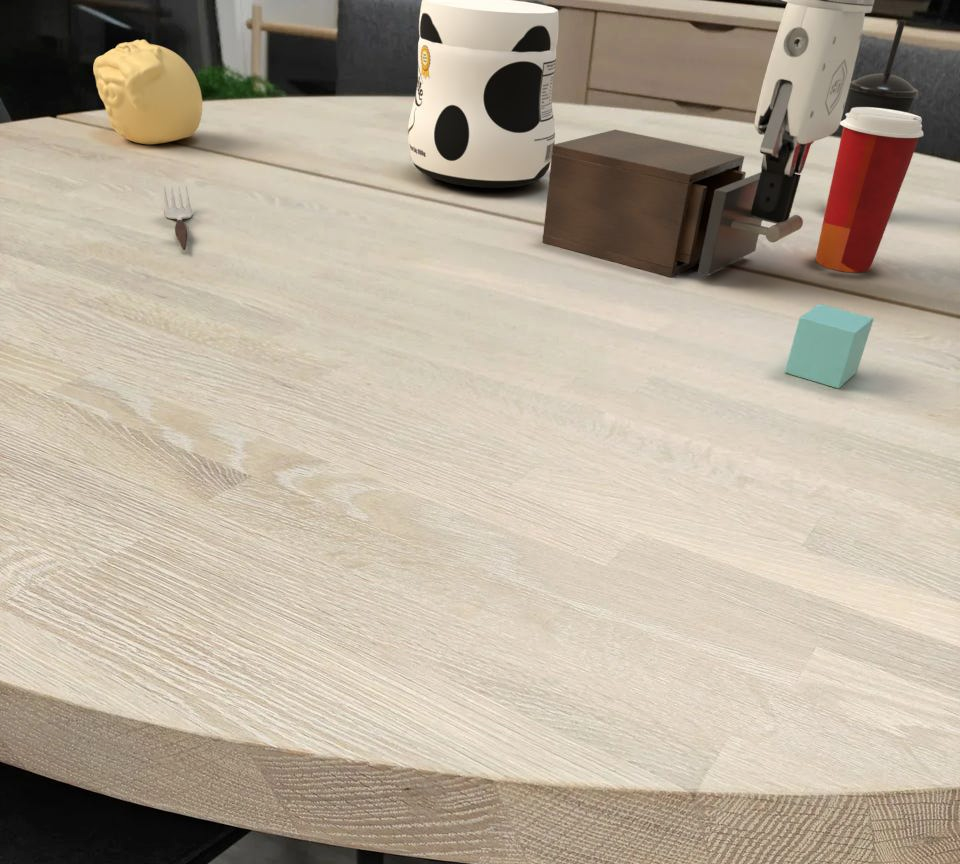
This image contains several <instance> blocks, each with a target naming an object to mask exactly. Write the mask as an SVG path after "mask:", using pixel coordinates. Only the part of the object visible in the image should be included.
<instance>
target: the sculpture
mask: <svg viewBox="0 0 960 864" xmlns="http://www.w3.org/2000/svg"><path fill="white" fill-rule="evenodd" d="M92 67H93V69H92V70H93V76H94V78H95V84H96V86H95V87H96V89H97V91H98V96H99V98H100V99H101V101H102V102H103V105H104V108H105V112H106V115H108V121H109V124H110V126H111V128H112V129H114V130H115V131H116V132H117V133H118V134H119V135H121V136H122V137H123V138H125V139H126V140H128V141H131V142H134V143H137V144H143V145H159V144H165V143H171V142H174V141H179V140H183V139H187V138H189V137H192V136H193V135H194V134H195V133H196V132H197V131H198V128H199V126H200V123H201V120H202V116H203V95H202V90H201V87H200V84H199V81H198V79H197V76H196V75H195V73H194V71H193V70H192V68H191V66H190V65H189V64H188V63H187V62H186V60H185V59H184V58H182V57H181V56H180V55H179V54H177V53H176V52H174V51H173V50H171V49H169V48H167V47H165V46H161V45H158V44H152V43H149V42H148V41H147V39H141V40H140V39H136V40H133V41H130V42H126V41H125V42H121V43H118V44H117V45H116V46H115V48H112V49H110V50H108V51H107V52H105V53H104V54H102V55H99V56H97V57H96V58H95V59H94V62H93V66H92Z"/></svg>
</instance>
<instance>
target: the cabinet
mask: <svg viewBox="0 0 960 864" xmlns="http://www.w3.org/2000/svg"><path fill="white" fill-rule="evenodd" d="M552 153H553V154H552V159H551V162H550V167H549V168H550V169H549V178H548V188H547V195H546V205H545V215H544V224H543V232H542V233H543V234H542V241H541V242H542V243H544V244H547V245H551V246H555V247H559V248H561V249H565V250H570V251H573V252H577V253H580V254H584V255H588V256H592V257H595V258H599V259H603V260H607V261H610V262H614V263H617V264H621V265H625V266H629V267H633V268H636V269H639V270H640V269H641V270H643V271H647V272H651V273H655V274H658V275H663V276H666V277H670V278H673V277H674V276H676V275H679V274H680V273H682V272H685V271H686V270H688V269H690V268H692V267H695V266H697V265H698V264H700V259H701V258H699V259H697V260H695V261H693V262H691V263H689V264H688V263H684V262H680V261H677V260H678V254H679V249H680V244H681V239H682V233H683V228H684V223H685V218H686V212H687V207H688V202H689V197H690V191H691V186H692V183H693V182H696V181H698V180H701V179H704V178H707V177H710V176H712V175H715V174H718V173H721V172H724V171H726V170H729V169H734V170H738V171H742V169H743V165H744V161H745V156H744V155H741V154H737V153H736V154H735V153H731V152H725V151H721V150H716V149H712V148H706V147H701V146H697V145H692V144H689V143H682V142H677V141H673V140H668V139H663V138H660V137H659V138H658V137H654V136H648V135H644V134H639V133H635V132H629V131H624V130H619V129H612V130H608V131H604V132H600V133H599V132H598V133H595V134H591V135H588V136H583V137H579V138H575V139H571V140H566V141H562V142H558V143H555V144H554V145H553V149H552Z"/></svg>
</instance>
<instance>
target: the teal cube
mask: <svg viewBox="0 0 960 864" xmlns="http://www.w3.org/2000/svg"><path fill="white" fill-rule="evenodd" d="M873 322H874V317H871V316H868V315H864V314H859V313H856V312H851V311H848V310H845V309H842V308H841V309H840V308H837V307H833V306H829V305H825V304H822V303H818V304H816V305H815V306H814V307H813V308H811V309H809V310H808V311H806V312H805V313H804V314H803V315H801V316H799V318H798V321H797V326H796V328H795V333H794V337H793V340H792V343H791V348H790V351H789V355H788V358H787V362H786V366H785V370H784V373H785V374H788V375H792V376H795V377H797V378H798V377H799V378H802V379H806V380H808V381H812V382H815V383H818V384H822V385H825V386H829V387H832V388H836V389H841V387H842V386H844V384H845V383H847V382H848V381H849V380H850V379H851V378H852V377H853V376H854V375H855V374H857V372H858V370H859V367H860V363H861V360H862V357H863V354H864V350H865V347H866V345H867V341H868V338H869V334H870V332H871V330H872V325H873Z"/></svg>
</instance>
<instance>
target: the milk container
mask: <svg viewBox="0 0 960 864" xmlns="http://www.w3.org/2000/svg"><path fill="white" fill-rule="evenodd" d="M420 3H421V4H420V10H419V11H420V12H419V20H418V31H419V32H418V33H419V39H418V43H417V83H416V90H415V96H414V99H413V102H412V108H411V111H410V115H409V119H408V127H407V140H408V141H407V142H408V149H409V156H410V158H411V161H412V164H413V165H414V167H415V168H416V169H417V170H418V171H420V172H421V173H423V174H425V175H426V176H428V177H431V178H432V179H435V180H438V181H441V182H445V183H447V184H451V185H459V186H463V187H471V188H480V189H508V188H517V187H523V186H526V185H530V184H533V183H536V182H539V180H541V179H542V178H543V177H544V176H545V175H546V174H547V172H548V170H549V168H550V167H551V159H552V154H553V153H552V149H553V145H554V144H556V128H555V118H554V112H553V86H554V77H555V70H556V69H555V68H556V61H557V47H558V41H559V33H560V32H559V29H560V28H559V27H560V26H559V25H560V22H559V21H560V16H559V10H558V8H555V7H552V6H549V5H545V4H539V3H534V2H529V1H523V0H421V2H420Z"/></svg>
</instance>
